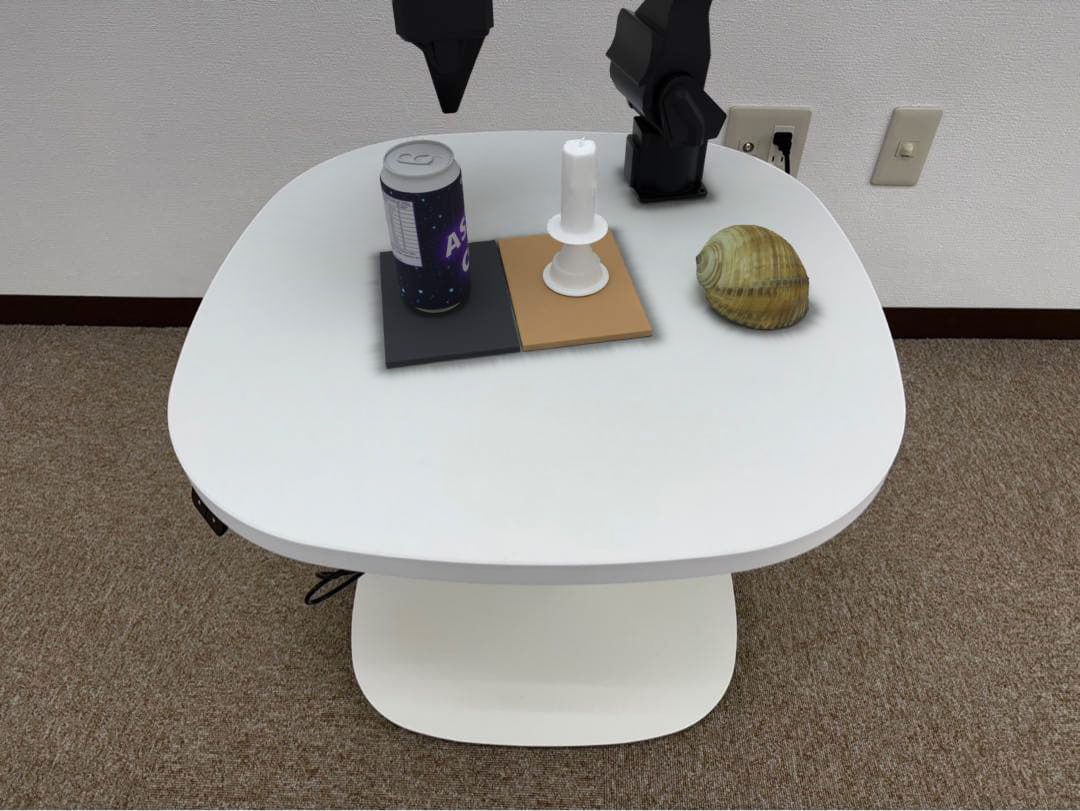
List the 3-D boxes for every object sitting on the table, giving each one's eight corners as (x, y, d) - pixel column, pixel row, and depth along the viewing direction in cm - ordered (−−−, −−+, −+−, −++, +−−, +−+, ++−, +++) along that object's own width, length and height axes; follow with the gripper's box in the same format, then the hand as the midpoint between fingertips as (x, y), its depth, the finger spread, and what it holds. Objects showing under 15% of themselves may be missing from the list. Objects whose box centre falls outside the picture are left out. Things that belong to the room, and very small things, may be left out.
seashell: (784, 332, 67) (792, 235, 66) (831, 333, 60) (841, 225, 59) (675, 325, 65) (682, 225, 64) (711, 325, 58) (719, 213, 57)
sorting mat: (609, 233, 70) (609, 227, 70) (651, 335, 61) (652, 329, 60) (380, 257, 68) (379, 251, 68) (386, 368, 58) (385, 362, 58)
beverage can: (461, 323, 61) (446, 182, 52) (390, 314, 62) (364, 173, 53) (480, 278, 65) (469, 140, 56) (413, 270, 66) (392, 133, 57)
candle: (583, 250, 67) (587, 114, 59) (622, 282, 64) (633, 143, 56) (530, 272, 65) (527, 134, 57) (567, 306, 62) (570, 165, 54)
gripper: (296, -182, 56) (338, 45, 67) (282, -113, 43) (337, 154, 54) (455, -189, 57) (470, 35, 68) (487, -124, 44) (500, 139, 55)
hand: (444, 85), depth 61 cm, fingers open, 9 cm apart
